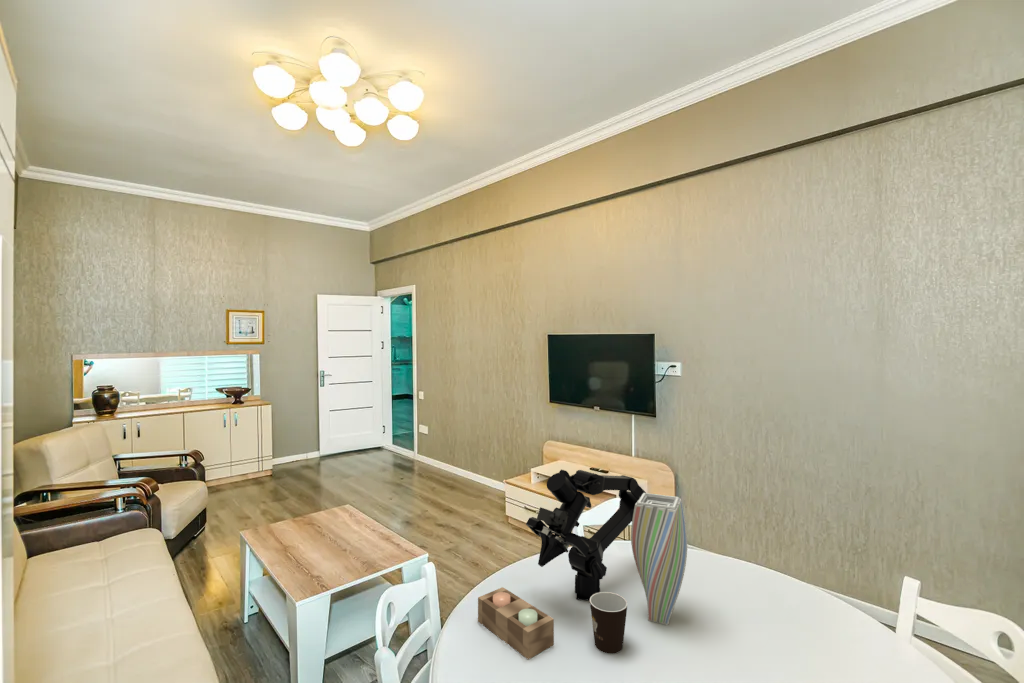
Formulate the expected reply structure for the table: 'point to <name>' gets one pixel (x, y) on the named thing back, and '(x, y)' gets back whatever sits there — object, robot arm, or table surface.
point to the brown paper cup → (608, 621)
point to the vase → (659, 551)
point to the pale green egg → (528, 616)
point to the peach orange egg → (501, 599)
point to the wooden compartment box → (516, 624)
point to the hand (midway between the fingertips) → (539, 565)
